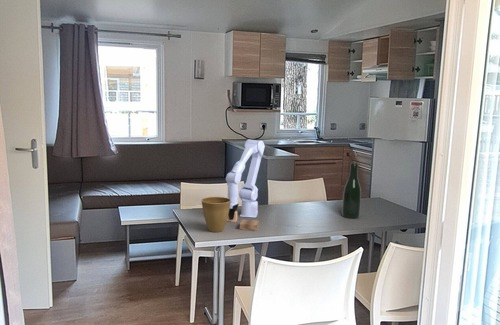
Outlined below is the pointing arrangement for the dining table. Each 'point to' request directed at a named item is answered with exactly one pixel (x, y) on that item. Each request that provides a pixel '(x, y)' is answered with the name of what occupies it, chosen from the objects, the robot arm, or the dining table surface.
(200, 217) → the dining table surface
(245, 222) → the tan square slab
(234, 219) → the terracotta cube
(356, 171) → the green glass bottle
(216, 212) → the plant pot
